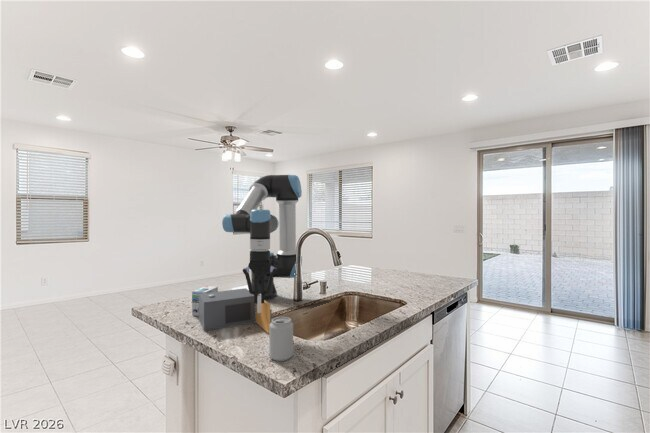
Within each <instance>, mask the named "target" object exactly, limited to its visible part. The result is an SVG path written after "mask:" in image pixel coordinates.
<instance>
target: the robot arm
mask: <svg viewBox="0 0 650 433" xmlns="http://www.w3.org/2000/svg"><path fill="white" fill-rule="evenodd" d="M301 197H302V184H301V181H300V177H299V175H295V174H266V175H264V176H262V177H260V178H258V179H256V180H255V181H254V182H253V183H252V184H251V186H250V187H249V188H248V193H247V194H246V196H245V197H244V199H243V200H242V201H241V203H240V204H239V206H238V207H237V209H236V210H235V211H234V213H229V214H225V215H224V216H223V218H222V220H221V223H222V224H221V225H222V229H223V230H224V231H225V232H226V233H233V234H237V233H239V234H240V233H243V234H244V233H249V249H250V251H249V263H248V265H247V266H246V267H243V269H242V273H243V274H244V276H245V279H246V284H247V288H248V290H249V293H250V294H253V295H254V303H255V304H257V313H261V303H264V300H265V301H266V300H267V301H268V300H272V299H276V298H277V296H278V293H277V289H276V286H275V282H274V278H281V279H282V278H286V279H296V278H295V276H296V275H297V274H296V270H295V264H296V250H297V241H296V240H297V235H296V234H297V231H296V230H297V228H296V224H297V222H296V220H297V219H296V204H297V203H298V202H299V198H301ZM267 198H275V202H276V203H278V217H276V216H275V215H273V214H271V211H270V209H259V207H260V205H261V203H262V202H263V201H264V200H266V199H267ZM278 227H279V228H278ZM277 229H278V230H279V231H278V232H279V233H278V234H279V235H278V237H279V238H278V239H279V243H278V244H279V249H278V250H277V251H276V255H275V254H274V252H271V251H270V249H271V233H273V232H275V231H276V230H277ZM300 256H301V266H302V265H303V264H302V263H303V257H302V255H300ZM250 271H251V276H250V274H249V273H250ZM294 273H295V274H296V275H294Z"/></svg>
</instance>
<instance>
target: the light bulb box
mask: <svg viewBox="0 0 650 433" xmlns="http://www.w3.org/2000/svg"><path fill="white" fill-rule="evenodd" d="M218 290H219V287H218V286H212V285H211V286H209V285H204V286H202V287H200V288H197V289H195V290H193V291H191V316H193V317H194V316H196V317H197V316H198V317H199V294H202V293H211V292H219V291H218Z"/></svg>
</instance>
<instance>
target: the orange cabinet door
mask: <svg viewBox="0 0 650 433" xmlns="http://www.w3.org/2000/svg"><path fill="white" fill-rule="evenodd" d="M272 315H273V314H272V309H271V304H270V303H269V302H268V301H266V300H264V303H261V313H257V304H255V323H257V324H258V326H259V327H261V328H262V329H263V330H264V331H265V332H266V333H267V334H269V325H270V323H271V322H272V319H273V318H272V317H273V316H272Z"/></svg>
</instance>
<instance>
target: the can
mask: <svg viewBox="0 0 650 433" xmlns="http://www.w3.org/2000/svg"><path fill="white" fill-rule="evenodd" d="M268 335H269V337H268V338H269V340H268V341H269V342H268V343H269V346H268V348H269V350H268V351H269V354H268V355H269V357H270V358H271V359H272V360H273V361H275V360H276V361H275V362H284V361H283V360H286V361H288V360H289V358H292V357H293V356H294V323H293V322H292V319H291V318H290V317H288V316H277V317H273V318H272V322H271V323H270V325H269V333H268ZM287 359H288V360H287Z"/></svg>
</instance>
